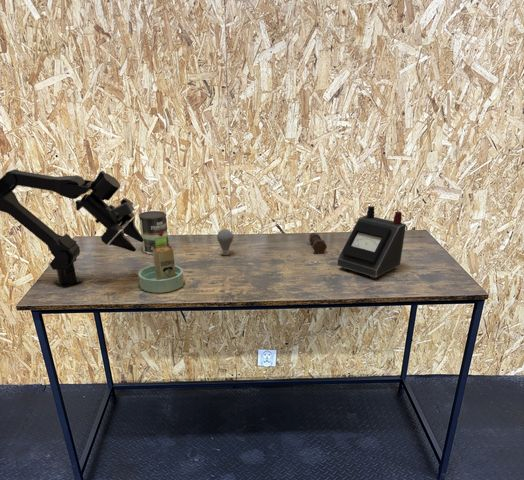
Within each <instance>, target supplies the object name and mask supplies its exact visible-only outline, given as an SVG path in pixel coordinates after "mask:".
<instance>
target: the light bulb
mask: <svg viewBox="0 0 524 480" xmlns="http://www.w3.org/2000/svg"><path fill="white" fill-rule="evenodd" d="M216 239H217V243H218V244H220V248H221V251H222V252H221V253H222V255H223V256H228V255H230V248H231V244H232V242H233V241H234V235H233V233H232V232H231V230H230V229H227V228H223V229H220V230H219V231H218V232H217V235H216Z"/></svg>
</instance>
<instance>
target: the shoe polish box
mask: <svg viewBox="0 0 524 480" xmlns="http://www.w3.org/2000/svg"><path fill="white" fill-rule="evenodd" d="M152 255H153V257H152V258H153V265H154V266H155V274H156V280H164V279H169V278H173V277H175V276H176V275H175V254H174V249H173V248H171V247H170V246H169V247H167V246H164V247H159V248H154V249H153V254H152Z"/></svg>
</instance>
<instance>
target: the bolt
mask: <svg viewBox="0 0 524 480" xmlns="http://www.w3.org/2000/svg"><path fill="white" fill-rule="evenodd" d="M308 240H309V243H310V244H311V248H312V250H313V252H314V253H315V254H316V255H319V254H320V255H321V254H324V253H325V251H326V250H327V248H328V246H327V244H326V242H325V240H324V239H322V238H321V235H320V234H319V233H315V232H311V233H310V234H309V238H308Z"/></svg>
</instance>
